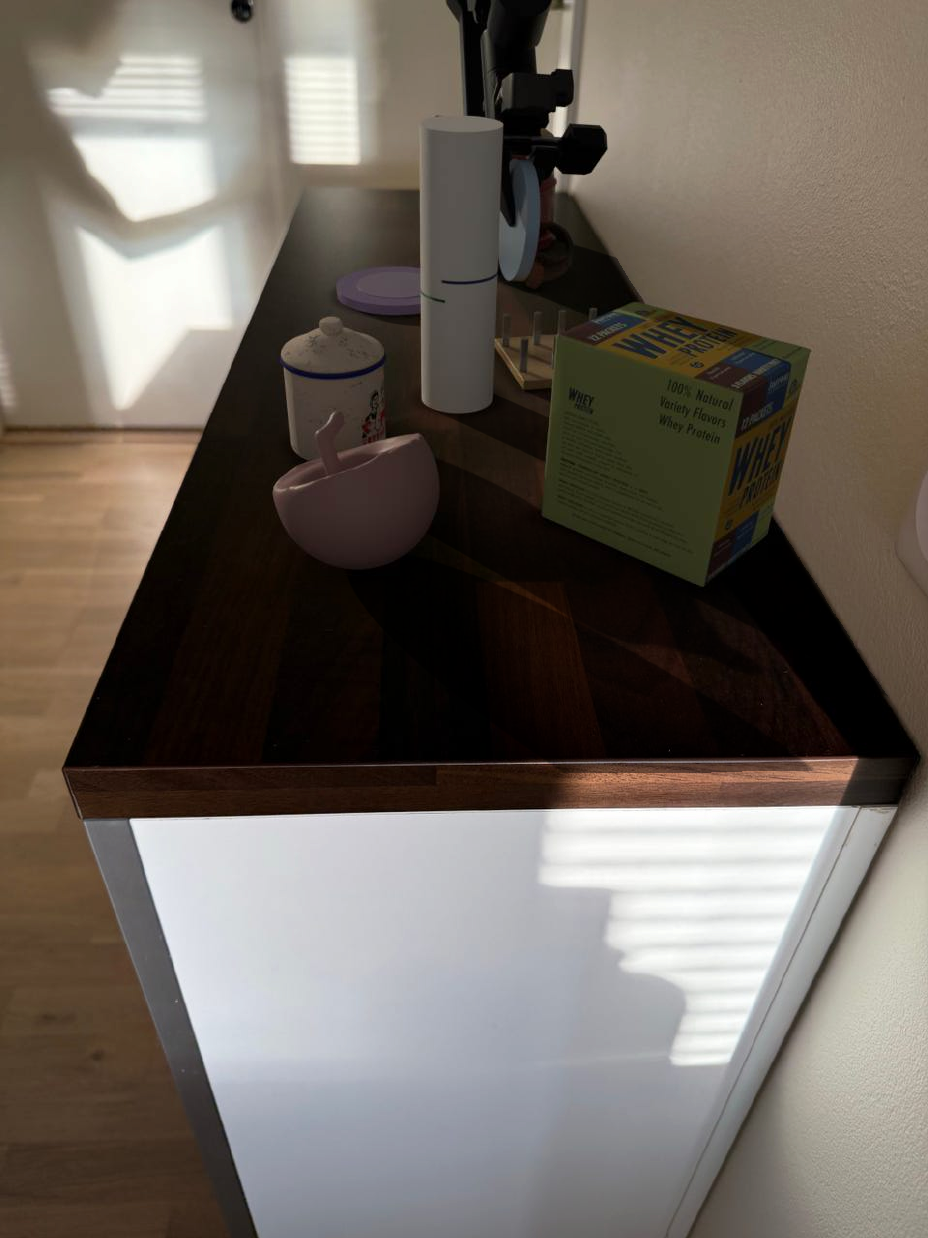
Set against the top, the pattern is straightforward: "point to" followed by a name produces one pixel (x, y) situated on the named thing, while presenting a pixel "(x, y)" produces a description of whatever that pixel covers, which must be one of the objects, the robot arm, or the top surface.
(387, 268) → the lavender plate
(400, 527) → the mortar and pestle
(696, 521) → the protein box
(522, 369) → the dish rack
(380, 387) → the teacup with lid
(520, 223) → the blue plate
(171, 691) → the top surface
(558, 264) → the pottery mug
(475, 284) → the cylindrical container
